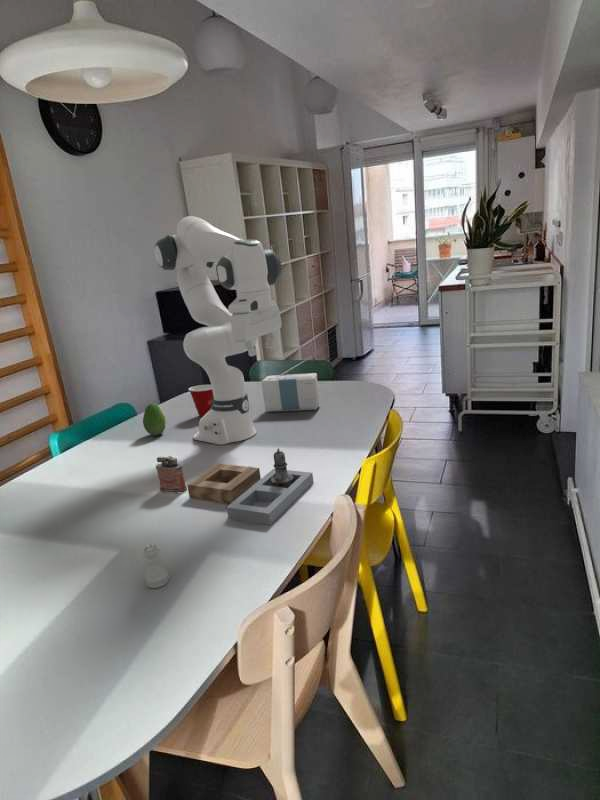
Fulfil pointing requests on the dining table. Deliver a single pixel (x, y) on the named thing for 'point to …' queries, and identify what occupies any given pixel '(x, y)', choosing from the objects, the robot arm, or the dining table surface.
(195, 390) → the plastic cup
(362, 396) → the dining table surface
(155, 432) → the avocado
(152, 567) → the rook chess piece
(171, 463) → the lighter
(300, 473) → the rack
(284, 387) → the teal banded white box
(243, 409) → the robot arm
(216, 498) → the socket block
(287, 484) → the grey chess piece
